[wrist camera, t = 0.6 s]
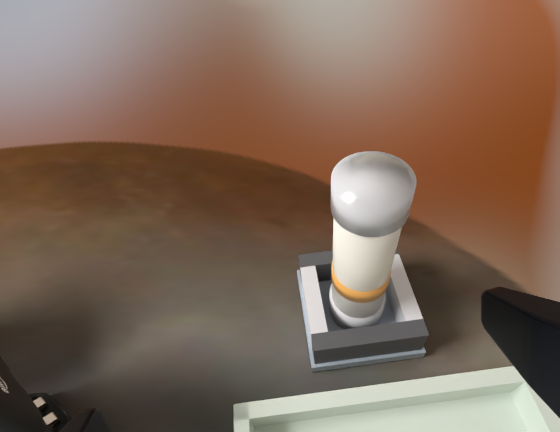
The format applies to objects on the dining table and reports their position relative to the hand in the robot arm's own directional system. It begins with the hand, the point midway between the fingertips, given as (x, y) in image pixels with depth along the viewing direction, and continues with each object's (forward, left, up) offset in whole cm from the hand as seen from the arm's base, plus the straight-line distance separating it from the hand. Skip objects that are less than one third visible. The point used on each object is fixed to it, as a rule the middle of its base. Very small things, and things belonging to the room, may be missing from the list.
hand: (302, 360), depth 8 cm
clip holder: (+6, -7, -16) cm, 18 cm away
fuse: (+5, -7, -15) cm, 17 cm away
